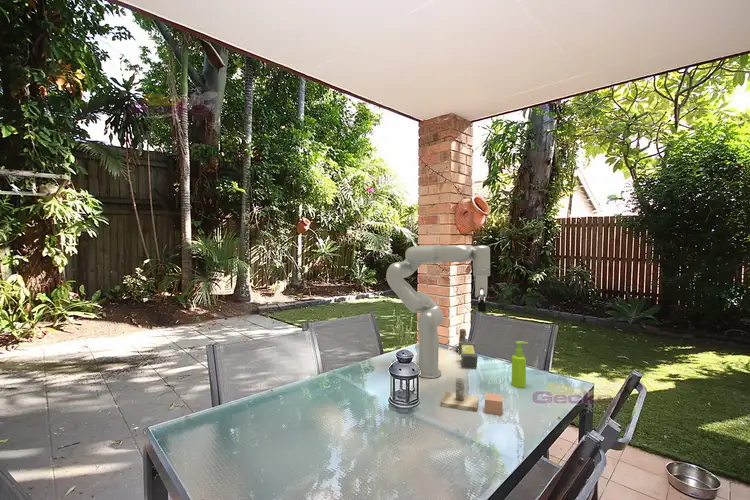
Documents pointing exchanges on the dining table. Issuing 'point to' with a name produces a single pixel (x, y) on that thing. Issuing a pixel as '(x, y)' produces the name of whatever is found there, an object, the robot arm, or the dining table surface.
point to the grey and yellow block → (466, 351)
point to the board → (459, 404)
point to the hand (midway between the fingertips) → (482, 309)
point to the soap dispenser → (519, 366)
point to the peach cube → (493, 404)
